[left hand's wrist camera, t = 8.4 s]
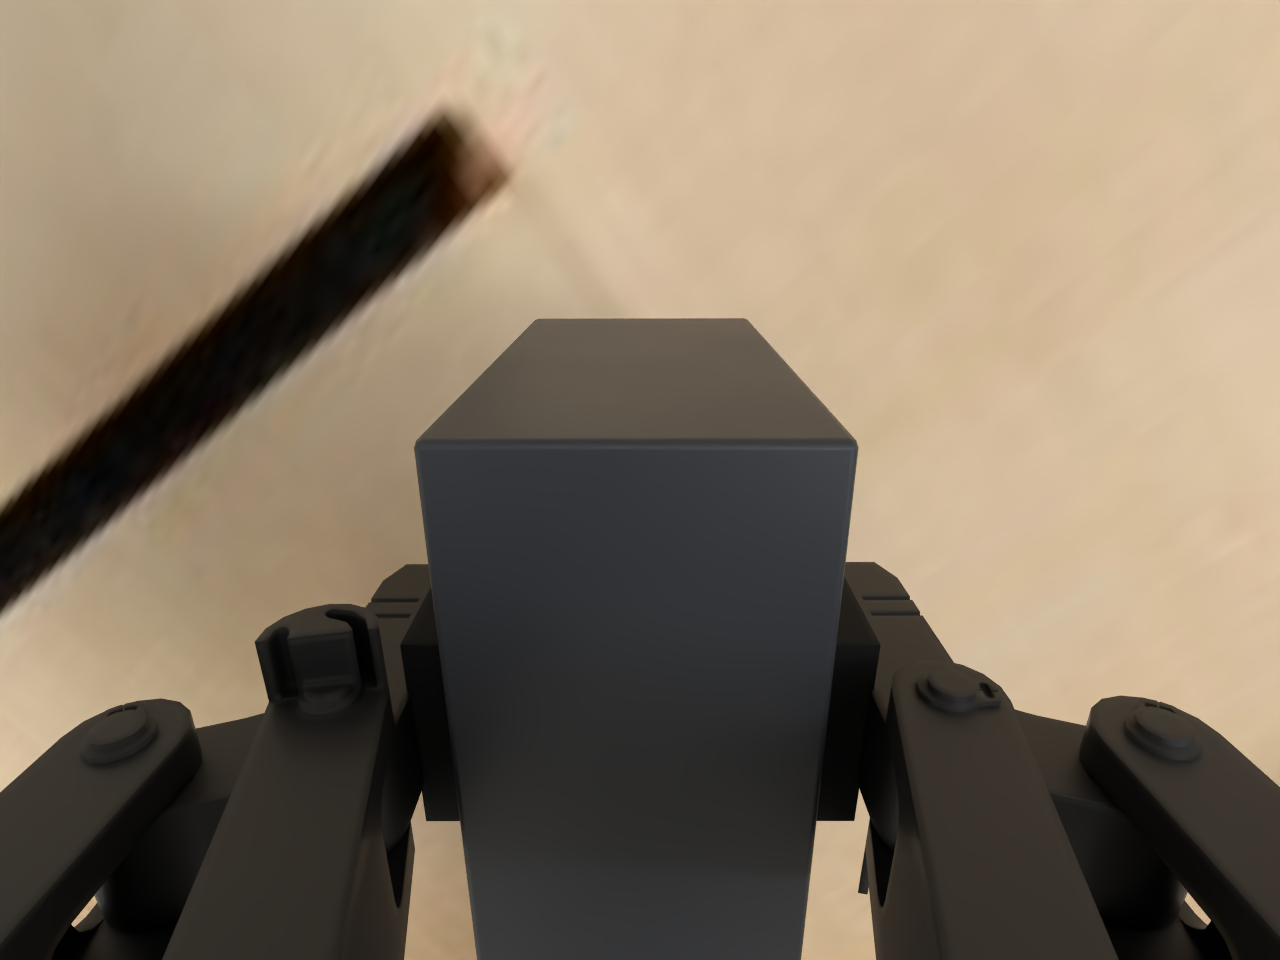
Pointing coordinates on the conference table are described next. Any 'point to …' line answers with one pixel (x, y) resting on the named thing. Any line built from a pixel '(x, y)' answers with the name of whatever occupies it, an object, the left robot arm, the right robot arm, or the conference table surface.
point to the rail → (637, 637)
